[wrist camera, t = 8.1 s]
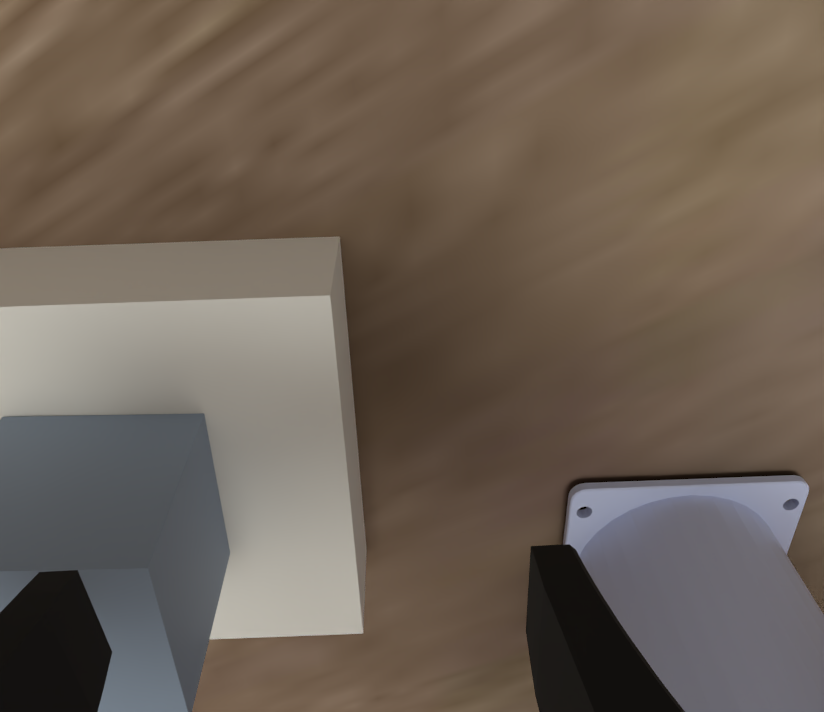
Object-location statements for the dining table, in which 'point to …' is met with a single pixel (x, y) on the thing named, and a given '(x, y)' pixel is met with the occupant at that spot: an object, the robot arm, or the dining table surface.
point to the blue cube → (121, 539)
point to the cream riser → (215, 397)
